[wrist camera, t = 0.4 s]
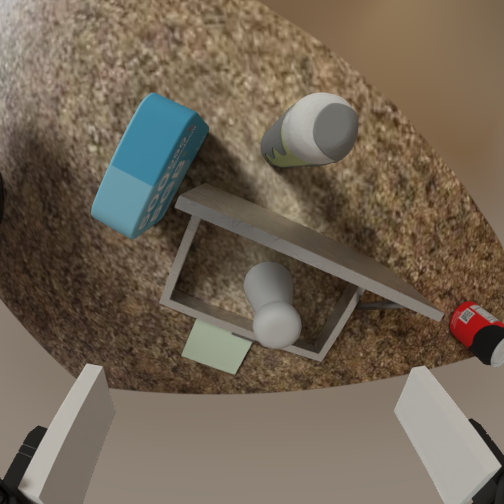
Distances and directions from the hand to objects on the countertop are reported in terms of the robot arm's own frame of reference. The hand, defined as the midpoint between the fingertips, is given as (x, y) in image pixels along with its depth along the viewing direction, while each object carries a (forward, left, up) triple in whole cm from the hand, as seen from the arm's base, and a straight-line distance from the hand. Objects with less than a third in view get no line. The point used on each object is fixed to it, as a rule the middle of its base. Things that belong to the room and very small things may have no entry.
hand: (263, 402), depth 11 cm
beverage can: (+37, +3, -26) cm, 45 cm away
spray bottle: (-1, +12, -26) cm, 29 cm away
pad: (+2, -14, -26) cm, 30 cm away
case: (+4, -3, -26) cm, 27 cm away
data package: (-12, +5, -26) cm, 29 cm away
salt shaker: (+4, -3, -26) cm, 27 cm away
